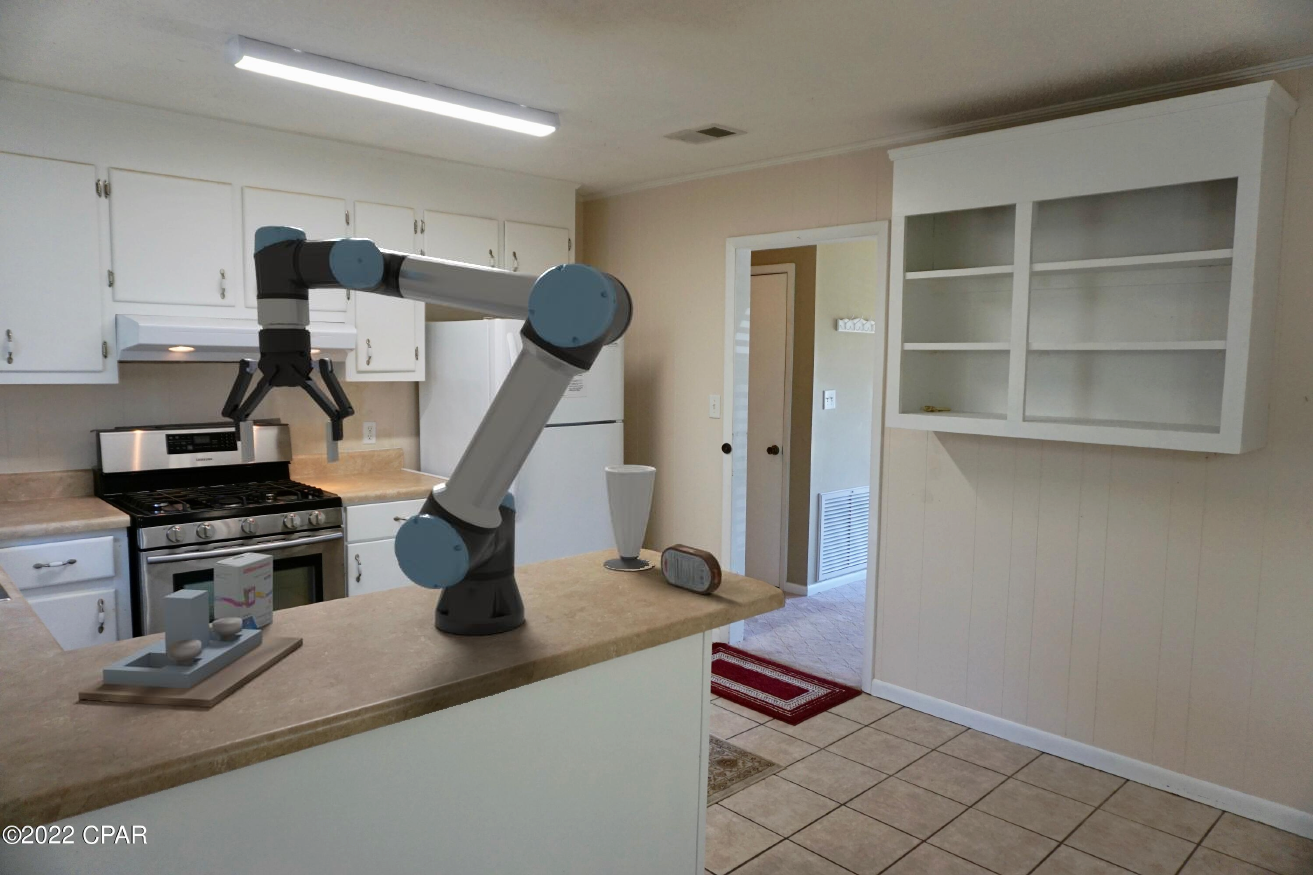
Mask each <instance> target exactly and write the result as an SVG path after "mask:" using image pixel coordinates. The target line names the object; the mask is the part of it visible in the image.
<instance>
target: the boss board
mask: <svg viewBox="0 0 1313 875" xmlns="http://www.w3.org/2000/svg"><path fill="white" fill-rule="evenodd" d="M211 627H212V634H213V635H217V636H220V641H231V642H232V641H234V640H235V634H237V633H239V632H241V631H242V619H241V618H236V617H229V618H222V619H218V620H215V621H212V623H211ZM303 640H304V638H303V637H293V636H275V635H274V636H269V635H262V643H261V644H259V645H258V646H256V647H255V648H253V649H251V650H250V651H248V652H247V653H245V654H243V655H242V656H240V657H239V658H237V659H235V660H234V661H232V662H231V663H229V664H227V665H226V666H224V667H223V668H221V669H219V670H218V671H216V672H215V673H213V674H211V675H210V676H208V677H207V678H205V679H203V680H202V681H200V682H199V683H197V684H195V685H194V686H192V687H191V688H172V687H154V686H136V685H118V684H104V682H103V679H102V680H100V681H97V682H96V683H94V684H92V685H89V686H87V687H86V688H85V689H82V690H80V691H79V692H78V700H79V699H87V700H86V701H91V700H104V701H103V702H109V701H113V702H112V703H114V701H116V702H115V703H127V704H129V703H131V704H146V705H147V704H149V705H162V706H163V705H164V706H165V705H166V706H181V707H199V708H200V707H201V708H212V707H214V706H215V705H216V704H218V703H219V702H221V701H222V700H224V699H225V698H226V697H228V696H229V695H231V694H232V693H234V692H236V691H237V690H238V689H240V688H241V687H242V686H244V685H245V684H247V683H249V682H250V681H251V680H253V679H254V678H256V677H257V676H259V675H261V673H263V672H264V671H267V669H269V668H270V667H272V666H273V665H275V664H276V663H278V662H279V661H280V660H282V659H283V658H285V657H286V656H288V655H289V654H290V653H291V654H292V653H293V651H295V650H296V649H298V648H300V647H301V646H302V645H304V641H303ZM199 655H201V641H199V640H193V639H190V640H181V641H177V642H173V643H171V644H169V645H168V658H169V659H171V660H177V666H191V665H193V664H194V663H193V658H195V657H197V656H199ZM147 668H162V667H157V666H149V667H147ZM106 700H107V701H106Z"/></svg>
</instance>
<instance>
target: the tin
mask: <svg viewBox="0 0 1313 875" xmlns="http://www.w3.org/2000/svg"><path fill="white" fill-rule="evenodd" d="M660 569H661V573H662V575H663V577H664V579H665V580H666V582H668V584H670V585H672V586H673V585H674V587H676V586H677V587H676V588H679V587H680V589H683V590H686V591H690V592H692V593H695V594H699V595H705V594H710V593H713V592H716V591H717V590H718V589H719V588H720V586H721V584H722V580H723V578H722V577H723V575H722V567H721V565H720V563H719V561H718V559H717V558H716V557H715V555H714V554H713V553H711V552H709V551H708V550H703V549H699V548H695V547H693V546H690V545H686V544H682V543H677V544H674V545H671V546H668V547H666V548H665V549H664V550H663V551H662V553H661V556H660Z"/></svg>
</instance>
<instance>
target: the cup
mask: <svg viewBox="0 0 1313 875" xmlns="http://www.w3.org/2000/svg"><path fill="white" fill-rule="evenodd" d="M657 471H658V470H657V469H656V468H655V467H653V466H649V465H641V464H640V465H639V464H638V465H637V464H621V465H620V464H618V465H609V466H606V467H605V468H604V472H605V482H606V483H605V484H606V490H607V492H606V493H607V503H608V508H609V509H608V510H609V515H610V521H611V526H612V532H613V537H614V541H615V545H616V549H617V552H618V556H619V557H618V558H611V559H608V560H605V561H604V562H603V563H604V565H603V567H604V566H608V567H610V568H615V569H640V568H644V567H645V566H649V563H648V562H649V561H650V560H649V561H646V560H647V559H645V560H641V559H642V558H640V553H641V549H642V548H643V547H642V546H643V543H644V540H645V537H646V532H647V527H648V523H649V518H650V517H649V516H650V513H651V506H652V501H653V495H654V494H653V493H654V487H655V479H656V478H655V477H656V473H657ZM637 558H640V559H637Z"/></svg>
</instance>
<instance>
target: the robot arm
mask: <svg viewBox="0 0 1313 875" xmlns="http://www.w3.org/2000/svg"><path fill="white" fill-rule="evenodd" d="M306 235H307V234H306V232H305V231H304V230H303V229H302V228H299V227H294V226H289V225H288V226H285V225H284V226H283V225H281V226H280V225H279V226H278V225H265V226H260V227H258V228H257V229H256V231H255V232H254V246H253V247H254V249H253V250H254V251H253V260H254V270H255V279H256V304H257V305H256V306H257V307H256V310H257V324H258V325H259V326H261V327H262V328H261V329H259V331H257V332H258V351H259V354H260V357H259V360H254V359H253V358H242V359H240V360H239V363H238V373H237V376H236V378H235V380H234V383H233V385H232V387H231V389H230V392H229V395H228V397H227V399H226V401H225V404H224V405H223V408H222V410H221V413H220V414H221V416H222V417H223V418H227V419H230V420H232V422H234V434H235V437H234V438H235V440H236V442H240V448H241V449H240V452H241V463H242V464H249V463H252V462H255V461H256V455H255V454H256V453H255V434H254V432H255V431H254V421H253V420H250V418H249V417H250V416H251V415H252V414H253V412H254V411H255V410H256V409H257V407H258V406H259V405H260V403H261V402H262V401H263V400H264V398H265V397H266V396H267V395H268V393H269V392H270V391H271V390H272V389H274V388H285V387H288V388H297V387H298V388H299V387H300V388H301V389H302V390H303V391H305V392H306V393H307V394H308V395H309V397H310V398H311V399H312V400H313V402H315V404H317V405H318V407H319V408H320V409H321V410H322V411H323V412H324V413H325V415H326V416H328V418H329V420H328V421H327V420H326V421H325V437H326V438H325V439H326V440H325V441H326V460H327V462H326V463H331V464H332V463H336V462H339V460H340V459H339V441H343V440H344V439H343V438H344V420H345V419H346V418H349V417H352V416H354V415H355V414H356V413H355V412H356V411H355V409H354V407H353V405H352V404H351V402H350V400H349V398H348V397H347V394H346V393H345V391H344V389H343V386H342V385H341V384H340V382H339V380H338V378H337V376H336V374H335V373H334V367H333V366H334V365H333V361H332V359H331V358H330V357H329V358H327V357H326V358H323V357H322V358H319V359H317V360H316V359H315V360H313V358H312V356H311V355H312V342H311V337H312V336H311V331H310V330H309V329H307V327H308V326H310V324H311V321H310V318H311V317H310V297H309V295H310V294H309V293H310V290H317V289H318V290H320V289H321V290H322V289H324V290H327V289H328V290H329V289H330V290H332V289H333V290H334V289H335V290H338V289H339V290H348V291H353V292H354V291H356V292H363V293H369V294H376V295H381V296H384V297H385V296H386V297H392V298H399V299H407V300H411V301H417V302H422V303H427V304H433V305H438V306H442V307H443V306H444V307H449V308H454V309H461V310H465V311H471V312H477V313H482V314H486V315H492V316H497V317H504V318H508V319H514V320H521V321H524V322H523V325H522V326H521V329H520V330H519V331H518V332H519V337H520V340H521V344H522V349H521V350H520V352H519V353H518V355H517V358H516V359H515V360H514V363H513V365H512V366H511V368H510V370H509V372H508V374H507V375H506V377H505V379H504V381H503V382H502V384H501V385H500V388H499V389H498V391H497V393H496V395H495V396H494V398H493V400H492V402H491V404H490V405H489V407H488V409H487V411H486V413H485V415H484V416H483V418H482V420H481V422H479V425H478V426H477V429H476V431H475V432H474V434H473V435H472V438H471V439H470V441H469V443H468V445H467V446H466V449H465V451H464V452H463V454H462V456H461V457H460V459H459V461H458V463H457V464H456V466H455V468H454V470H453V472H452V473H451V475H450V477H449V479H448V480H446V481H445V482H441V483H437V484H435V485H434V486H433V487H432V489H431V491H430V493H429V494H428V496H427V498H426V500H425V501H424V503H423V504H422V507H421V508H420V510H419V512H418V513H417V514H416V515H412V516H409V518H408V519H407V520H405V521H404V523H402V525H401V526H400V528H399V529H398V531H397V533H396V534H395V538H394V543H393V544H394V546H393V549H394V550H393V551H394V555H395V557H396V559H397V560H396V561H397V562H398V563H397V564H398V566H399V568H400V570H401V572H402V573H403V574H404V576H406V578H407V579H409V580H410V581H411V582H412V583H414V584H416V585H417V586H420V587H421V588H425V589H428V590H429V589H430V590H440V594H439V597H438V601H437V603H436V606H435V609H434V624H435V626H436V627H437V628H438V629H440V630H442V631H443V632H446V633H451V634H457V635H465V636H466V635H468V636H470V635H471V636H475V635H476V636H480V635H481V636H482V635H491V634H498V633H504V632H507V631H511V630H513V629H515V628H518V627H520V626H521V625H522V624H523V623H524V621H525V604H524V601H523V598H522V595H521V592H520V589H519V587H518V584H517V580H516V577H515V563H516V562H515V560H516V558H515V557H516V554H515V552H516V548H515V546H516V514H517V510H516V504H515V496H514V495H513V493H512V492H510V488H511V487H512V485H513V483H514V481H515V480H516V478H517V476H518V475H519V472H520V471H521V470H522V467H523V465H524V464H525V463H526V460H527V459H528V457H529V455H530V453H531V452H532V450H533V449H534V446H535V444H536V443H537V441H538V440H539V438H540V436H541V434H542V433H543V431H544V429H545V427H546V425H547V423H548V422H549V421H550V419H551V416H552V415H553V413H554V412H555V410H556V409H557V406H558V405H559V403H560V402H561V399H562V398H563V396H564V394H565V393H566V391H567V389H568V388H569V386H570V384H571V382H572V380H573V379H574V378H575V377H576V376H578V375H582V374H585V373H588V372H590V369H591V368H592V366H593V364H594V363H595V361H596V360H597V359H598V356H599V354H600V353H601V351H602V349H603V348H604V346H605V347H606V346H609V345H611V344H614V343H616V342H617V341H618V340H619V339H621V338H622V337H623V336H624V335H625V333H627V331H628V330H629V327H630V325H631V323H632V320H633V317H634V316H633V315H634V305H633V298H632V296H631V293H630V291H629V289H628V288H627V286H626V285H625V284H624V283H623V282H622V281H621V280H620V279H619V278H617V277H615V276H614V275H612V274H611V273H607V272H605V271H602V270H599V269H598V268H596V267H593V266H591V265H589V264H586V263H578V262H577V263H576V262H574V263H573V262H572V263H565V264H563V263H562V264H558V265H556V266H554V267H552V268H549V269H548V270H546V271H545V272H543V274H541V275H536V274H530V273H525V272H518V271H514V270H513V271H512V270H509V269H508V270H506V269H501V268H495V267H489V266H482V265H479V264H478V265H477V264H471V263H464V262H461V261H460V262H459V261H454V260H447V259H442V258H436V257H430V256H424V255H418V254H410V253H406V252H401V251H394V250H390V249H385V248H380V247H379V246H377V245H376V243H375V242H374V241H373V240H372V239H368V238H363V237H362V238H361V237H360V238H358V237H357V238H356V237H351V236H349V237H348V236H347V237H345V238H331V239H330V238H329V239H328V238H327V239H307V236H306ZM314 369H315V370H316V372H317V373H319V374H320V377H321V379H322V380H323V382H324V384H325V386H326V388H327V390H328V391H329V393H330V395H331V397H332V399H333V401H334V402H333V401H332V400H331V398H329V396H328V395H327V394H326V393H325V392H324V391H323V389H321V388H320V387H319V385H318V384H317V381H315V379H314V378H313V377H312V376H311V375H310V374H311V373H312V372H313V370H314ZM258 370H259V371H260V372H261V373H262V376H261V378H260V379H259V380H258V382H257V384H256V386H255V387H254V389H253V390H252V391H251V392H250V393H249V395H248V396H247V398H246V399H245V400H244V398H245V396H246V393H247V391H248V388H249V386H250V384H251V382H252V380H253V377H254V374H256V373H257V371H258ZM243 400H244V401H243Z"/></svg>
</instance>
